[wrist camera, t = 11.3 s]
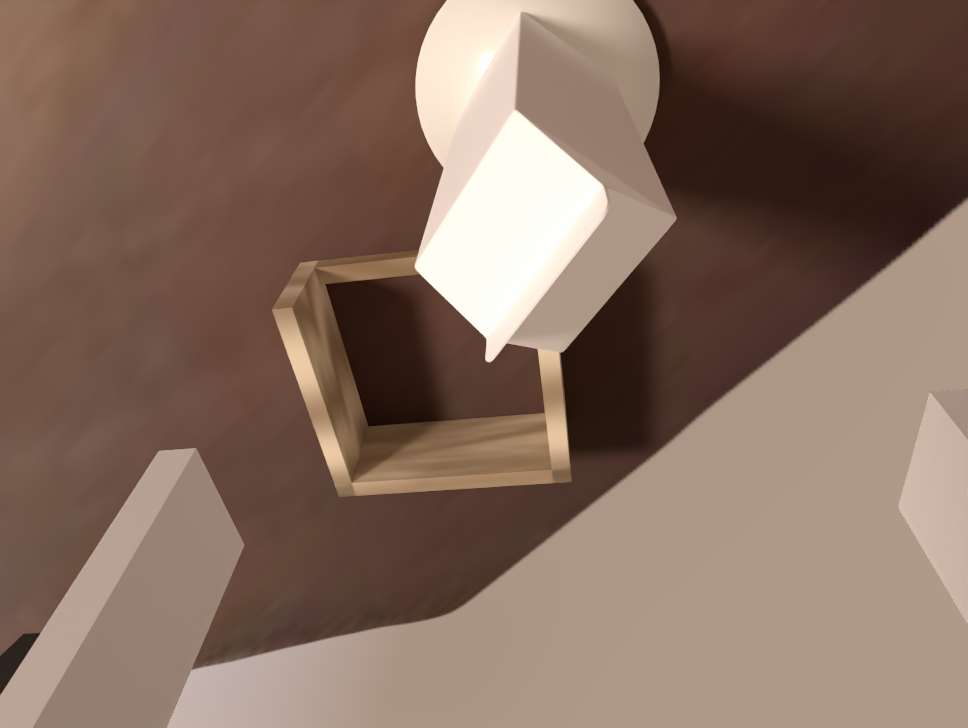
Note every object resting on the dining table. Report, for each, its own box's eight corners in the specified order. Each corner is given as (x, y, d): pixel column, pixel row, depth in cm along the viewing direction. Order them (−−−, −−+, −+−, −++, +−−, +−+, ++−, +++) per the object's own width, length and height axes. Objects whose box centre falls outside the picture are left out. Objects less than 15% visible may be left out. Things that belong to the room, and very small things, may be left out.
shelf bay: (300, 262, 44) (271, 309, 40) (549, 235, 42) (552, 281, 38) (356, 439, 53) (339, 496, 48) (567, 424, 51) (571, 481, 46)
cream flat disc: (394, -25, 35) (392, -23, 34) (657, -66, 33) (660, -66, 33) (439, 216, 42) (438, 222, 42) (657, 192, 41) (659, 197, 40)
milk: (614, 76, 36) (707, 265, 18) (548, 171, 39) (571, 414, 21) (518, 7, 35) (515, 140, 17) (456, 112, 38) (397, 321, 20)
